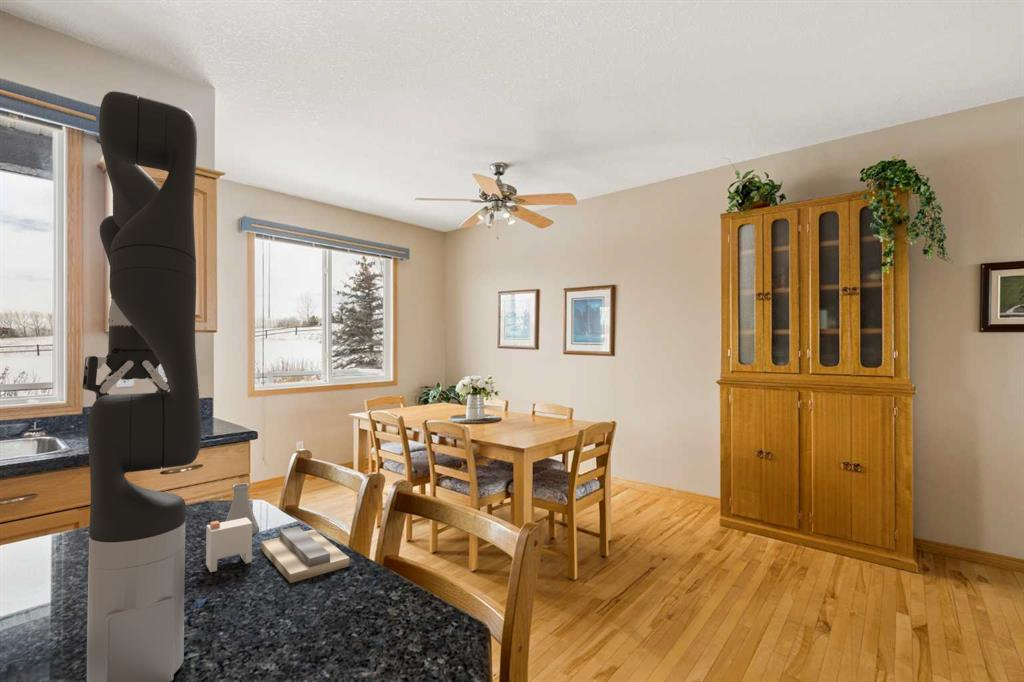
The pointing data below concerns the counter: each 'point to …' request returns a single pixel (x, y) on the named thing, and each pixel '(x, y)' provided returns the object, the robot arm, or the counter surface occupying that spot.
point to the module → (228, 541)
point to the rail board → (296, 564)
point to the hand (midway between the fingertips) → (133, 412)
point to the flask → (242, 506)
